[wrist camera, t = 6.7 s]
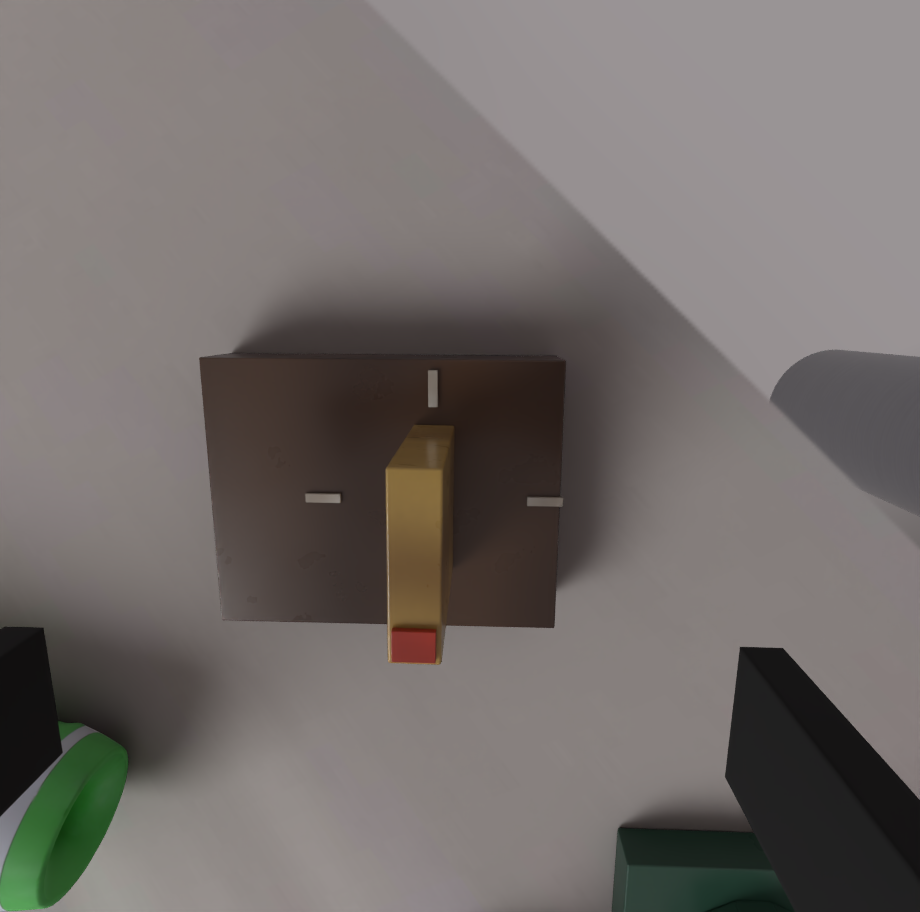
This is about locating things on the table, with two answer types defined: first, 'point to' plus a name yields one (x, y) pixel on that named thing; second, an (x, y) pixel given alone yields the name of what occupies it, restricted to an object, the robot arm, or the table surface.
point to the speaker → (60, 819)
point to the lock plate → (380, 480)
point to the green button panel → (694, 873)
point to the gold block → (419, 544)
